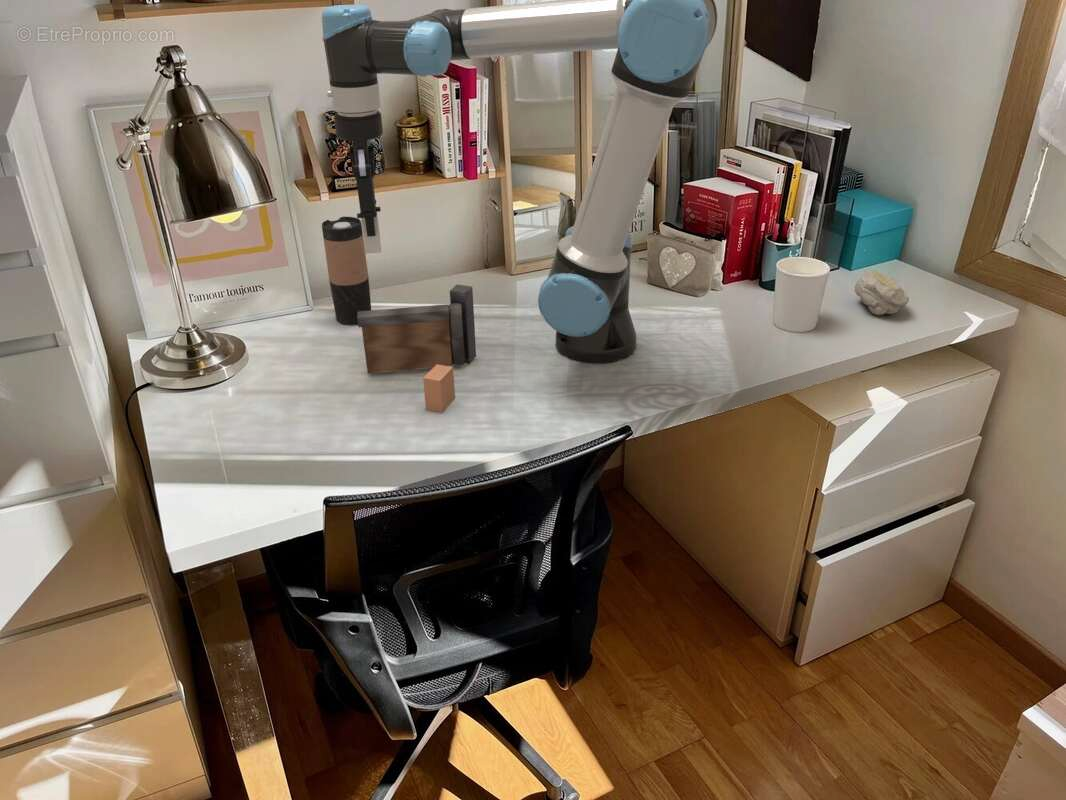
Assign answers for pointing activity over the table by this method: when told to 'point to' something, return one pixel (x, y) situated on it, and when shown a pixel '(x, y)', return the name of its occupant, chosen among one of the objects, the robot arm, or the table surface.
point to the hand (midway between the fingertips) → (373, 251)
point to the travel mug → (347, 268)
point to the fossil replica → (880, 293)
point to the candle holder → (799, 293)
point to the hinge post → (466, 318)
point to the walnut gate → (412, 337)
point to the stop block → (439, 388)
